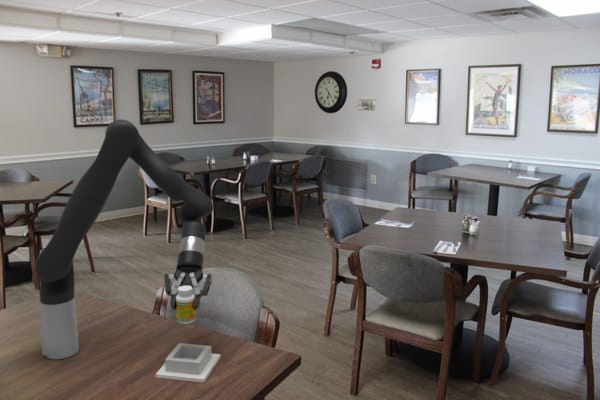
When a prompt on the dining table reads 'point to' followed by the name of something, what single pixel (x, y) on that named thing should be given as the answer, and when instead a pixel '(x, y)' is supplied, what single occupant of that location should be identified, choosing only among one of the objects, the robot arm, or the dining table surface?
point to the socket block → (189, 363)
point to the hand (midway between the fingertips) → (184, 308)
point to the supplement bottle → (185, 305)
